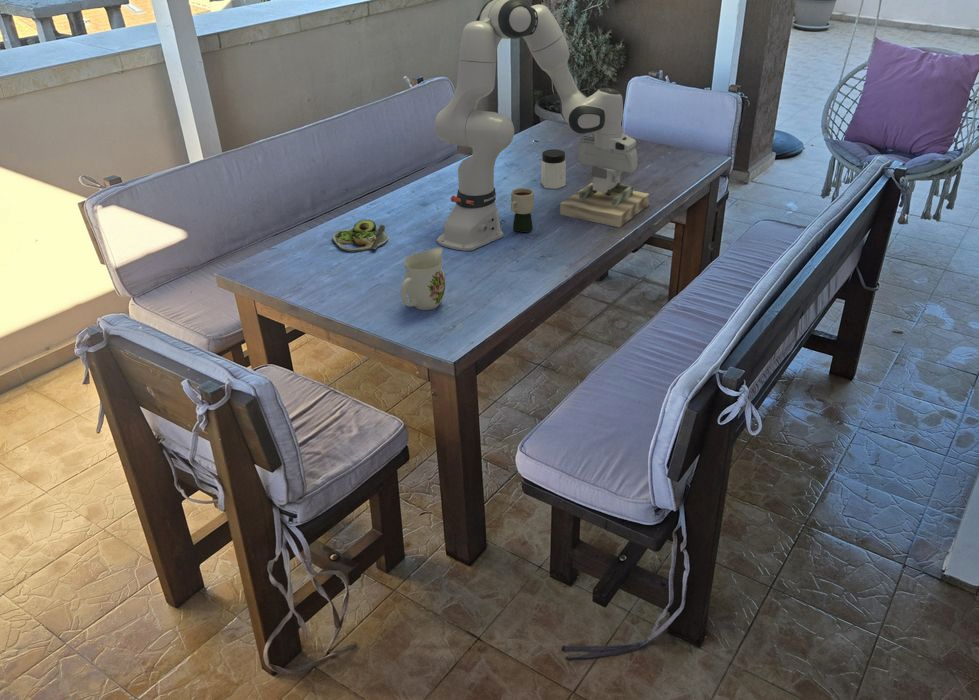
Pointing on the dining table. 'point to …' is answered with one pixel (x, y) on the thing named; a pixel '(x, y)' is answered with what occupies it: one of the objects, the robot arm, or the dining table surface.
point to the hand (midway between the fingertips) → (606, 180)
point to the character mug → (522, 208)
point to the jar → (553, 169)
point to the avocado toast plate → (361, 236)
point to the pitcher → (424, 280)
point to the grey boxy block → (604, 180)
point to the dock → (605, 205)
